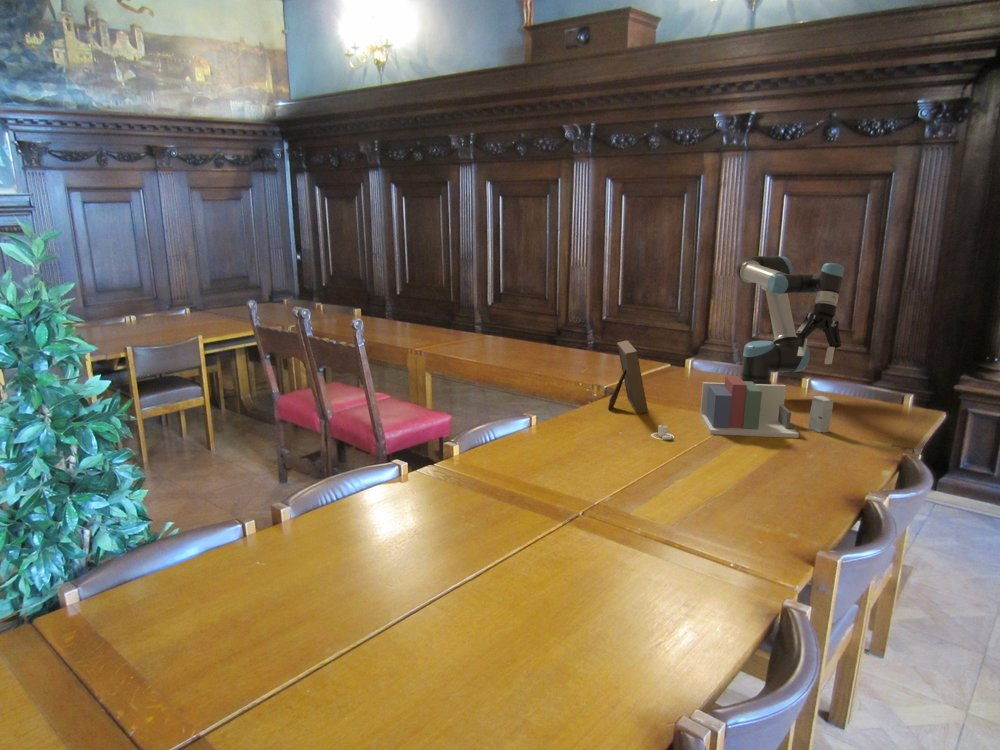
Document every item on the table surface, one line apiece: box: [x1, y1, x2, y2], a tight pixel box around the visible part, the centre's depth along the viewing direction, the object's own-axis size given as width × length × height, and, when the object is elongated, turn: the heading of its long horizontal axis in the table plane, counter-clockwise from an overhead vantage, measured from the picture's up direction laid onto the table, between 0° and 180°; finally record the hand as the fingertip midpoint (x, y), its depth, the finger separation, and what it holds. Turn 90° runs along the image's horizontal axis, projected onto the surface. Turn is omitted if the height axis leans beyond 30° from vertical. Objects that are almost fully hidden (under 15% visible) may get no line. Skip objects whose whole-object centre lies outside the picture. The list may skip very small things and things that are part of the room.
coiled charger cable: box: [650, 424, 675, 441], centre depth 234 cm, size 9×8×4 cm
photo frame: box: [607, 340, 649, 415], centre depth 268 cm, size 15×22×25 cm
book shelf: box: [699, 375, 800, 439], centre depth 244 cm, size 22×30×18 cm
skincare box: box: [807, 395, 835, 434], centre depth 241 cm, size 6×4×12 cm
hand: (814, 360), depth 250 cm, fingers open, 13 cm apart
